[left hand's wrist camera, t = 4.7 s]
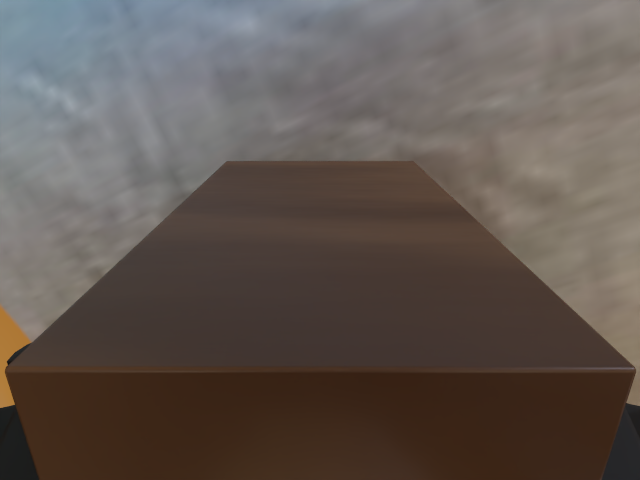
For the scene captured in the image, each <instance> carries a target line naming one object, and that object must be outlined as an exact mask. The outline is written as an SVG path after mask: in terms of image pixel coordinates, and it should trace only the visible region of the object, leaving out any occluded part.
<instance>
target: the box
mask: <svg viewBox="0 0 640 480" xmlns="http://www.w3.org/2000/svg"><path fill="white" fill-rule="evenodd" d="M635 373H636V370H635V367H634V366H633V365H632V364H631V363H630V362H629V361H627V360H626V359H625V358H624V357H623V356H622V355H621V354H620V353H619V352H618V351H617V350H616V349H615V348H614V347H612V346H611V345H610V344H609V343H608V342H607V341H606V340H605V339H604V338H603V337H602V336H601V335H600V334H598V333H597V332H596V331H595V330H594V329H593V328H592V327H591V326H590V325H589V324H588V323H587V322H586V321H584V320H583V319H582V318H581V317H580V316H579V315H578V314H577V313H576V312H575V311H574V310H573V309H572V308H571V307H569V306H568V305H567V304H566V303H565V302H564V301H563V300H562V299H561V298H560V297H559V296H558V295H557V294H555V293H554V292H553V291H552V290H551V289H550V288H549V287H548V286H547V285H546V284H545V283H544V282H543V281H542V280H540V279H539V278H538V277H537V276H536V275H535V274H534V273H533V272H532V271H531V270H530V269H529V268H528V267H526V266H525V265H524V264H523V263H522V262H521V261H520V260H519V259H518V258H517V257H516V256H515V255H514V254H512V253H511V252H510V251H509V250H508V249H507V248H506V247H505V246H504V245H503V244H502V243H501V242H500V241H499V240H497V239H496V238H495V237H494V236H493V235H492V234H491V233H490V232H489V231H488V230H487V229H486V228H485V227H483V226H482V225H481V224H480V223H479V222H478V221H477V220H476V219H475V218H474V217H473V216H472V215H471V214H469V213H468V212H467V211H466V210H465V209H464V208H463V207H462V206H461V205H460V204H459V203H458V202H457V201H456V200H454V199H453V198H452V197H451V196H450V195H449V194H448V193H447V192H446V191H445V190H444V189H443V188H442V187H440V186H439V185H438V184H437V183H436V182H435V181H434V180H433V179H432V178H431V177H430V176H429V175H428V174H427V173H425V172H424V171H423V170H422V169H421V168H420V167H419V166H418V165H417V164H416V163H415V162H413V161H227V162H226V163H224V164H223V165H222V166H221V167H220V168H219V169H218V170H217V171H216V172H215V173H214V174H213V175H212V176H211V177H209V178H208V179H207V180H206V181H205V182H204V183H203V184H202V185H201V186H200V187H199V188H198V189H197V190H196V191H194V192H193V193H192V194H191V195H190V196H189V197H188V198H187V199H186V200H185V201H184V202H183V203H182V204H181V205H179V206H178V207H177V208H176V209H175V210H174V211H173V212H172V213H171V214H170V215H169V216H168V217H167V218H166V219H164V220H163V221H162V222H161V223H160V224H159V225H158V226H157V227H156V228H155V229H154V230H153V231H152V232H150V233H149V234H148V235H147V236H146V237H145V238H144V239H143V240H142V241H141V242H140V243H139V244H138V245H137V246H135V247H134V248H133V249H132V250H131V251H130V252H129V253H128V254H127V255H126V256H125V257H124V258H123V259H122V260H120V261H119V262H118V263H117V264H116V265H115V266H114V267H113V268H112V269H111V270H110V271H109V272H108V273H107V274H105V275H104V276H103V277H102V278H101V279H100V280H99V281H98V282H97V283H96V284H95V285H94V286H93V287H91V288H90V289H89V290H88V291H87V292H86V293H85V294H84V295H83V296H82V297H81V298H80V299H79V300H78V301H76V302H75V303H74V304H73V305H72V306H71V307H70V308H69V309H68V310H67V311H66V312H65V313H64V314H63V315H61V316H60V317H59V318H58V319H57V320H56V321H55V322H54V323H53V324H52V325H51V326H50V327H49V328H48V329H46V330H45V331H44V332H43V333H42V334H41V335H40V336H39V337H38V338H37V339H36V340H35V341H34V342H32V343H31V344H30V345H29V346H28V347H27V348H26V349H25V350H24V351H23V352H22V353H21V354H20V355H19V356H17V357H16V358H15V359H14V360H13V361H12V362H11V363H10V364H9V365H8V366H7V367H6V369H5V374H6V377H7V380H8V384H9V386H10V390H11V393H12V396H13V399H14V402H15V406H16V409H17V412H18V415H19V418H20V421H21V424H22V428H23V431H24V434H25V437H26V440H27V443H28V447H29V450H30V453H31V456H32V459H33V462H34V465H35V469H36V472H37V475H38V478H39V480H602V477H603V474H604V471H605V468H606V465H607V461H608V458H609V455H610V452H611V449H612V446H613V443H614V439H615V436H616V433H617V430H618V427H619V424H620V421H621V417H622V414H623V411H624V408H625V405H626V402H627V399H628V395H629V392H630V389H631V386H632V383H633V380H634V377H635Z"/></svg>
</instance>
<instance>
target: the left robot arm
mask: <svg viewBox="0 0 640 480" xmlns="http://www.w3.org/2000/svg"><path fill="white" fill-rule="evenodd" d="M30 344H31V343H30ZM30 344H28V345H26V346H24V347H23V348H21V349H20V350H18V351H17V352H15V353H14V354H13V355H12V356H11V357H10V359H9V360H8V361H7V363H8V365H9V364H10V363H11V362H12V361H13V360H14V359H15V358H16V357H17V356H19V355H20V354H21V353H22V352H23V351H24V350H25V349H26V348H27V347H28V346H29V345H30ZM0 480H39V478H38V475H37V472H36V469H35V465H34V462H33V459H32V456H31V453H30V450H29V447H28V443H27V440H26V437H25V434H24V431H23V428H22V424H21V421H20V418H19V415H18V412H17V409H16V406H15V405H12V406H8V407H3V408H0ZM602 480H640V406H636V405H631V404H628V403H626V405H625V408H624V411H623V414H622V417H621V421H620V424H619V427H618V430H617V433H616V436H615V439H614V443H613V446H612V449H611V452H610V455H609V458H608V461H607V465H606V468H605V471H604V474H603V477H602Z"/></svg>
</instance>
